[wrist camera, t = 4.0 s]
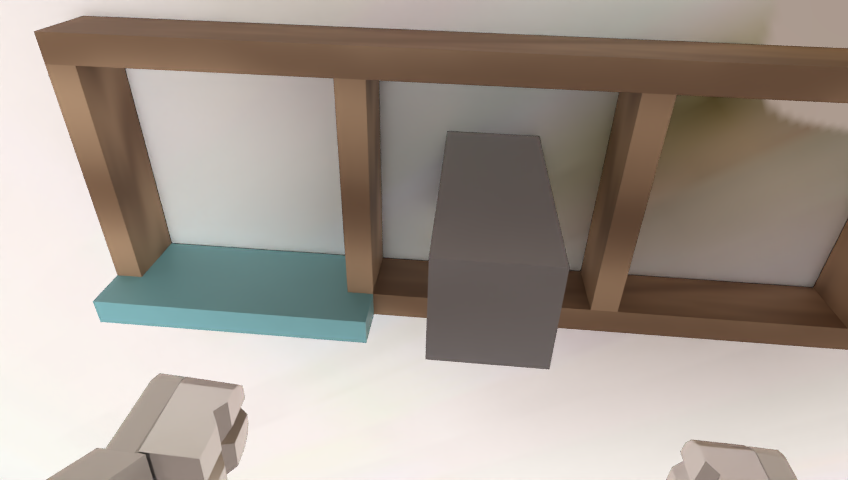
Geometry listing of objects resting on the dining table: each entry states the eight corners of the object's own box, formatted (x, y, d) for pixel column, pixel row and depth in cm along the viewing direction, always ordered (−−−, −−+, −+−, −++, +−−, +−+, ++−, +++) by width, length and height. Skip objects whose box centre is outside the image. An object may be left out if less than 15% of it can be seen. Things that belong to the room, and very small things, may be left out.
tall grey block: (447, 131, 24) (428, 258, 16) (538, 136, 24) (569, 267, 16) (443, 210, 26) (425, 358, 18) (527, 215, 26) (549, 369, 18)
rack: (83, 16, 23) (-7, 44, 19) (966, 53, 21) (1089, 94, 17) (154, 260, 30) (100, 321, 25) (828, 308, 27) (891, 384, 23)
